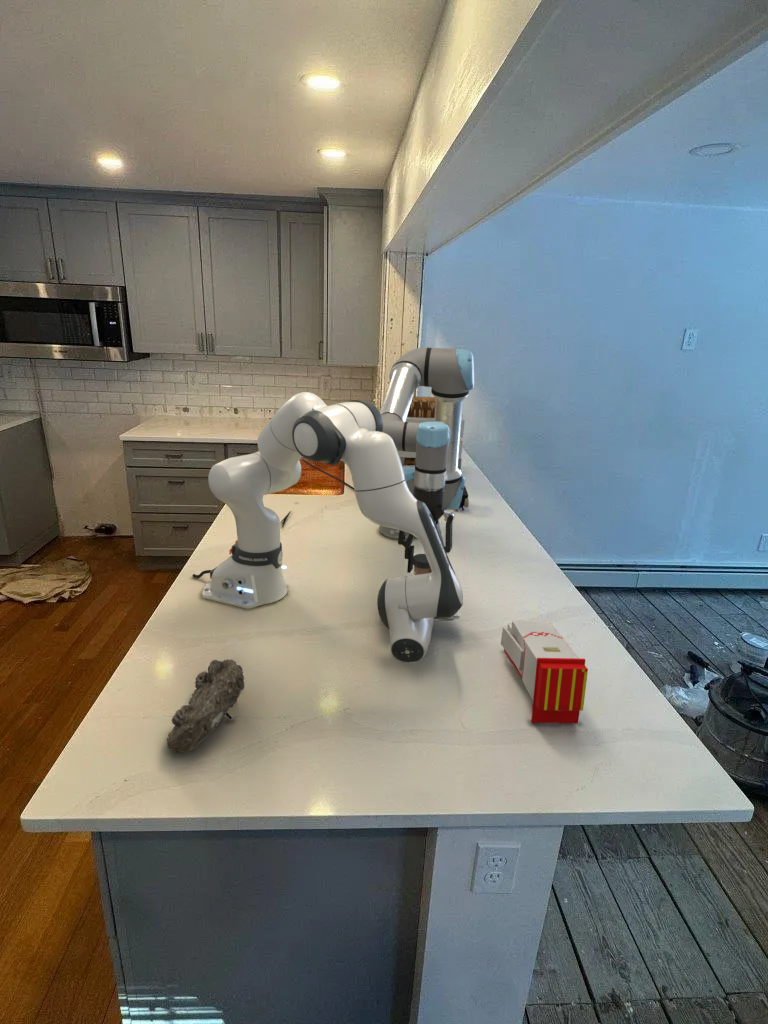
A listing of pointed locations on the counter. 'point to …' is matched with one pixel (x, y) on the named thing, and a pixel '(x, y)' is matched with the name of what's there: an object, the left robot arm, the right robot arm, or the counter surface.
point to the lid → (421, 561)
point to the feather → (285, 518)
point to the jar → (421, 571)
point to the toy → (547, 670)
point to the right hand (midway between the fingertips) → (422, 572)
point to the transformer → (420, 413)
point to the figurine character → (464, 499)
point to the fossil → (206, 705)
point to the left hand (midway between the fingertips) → (421, 588)
